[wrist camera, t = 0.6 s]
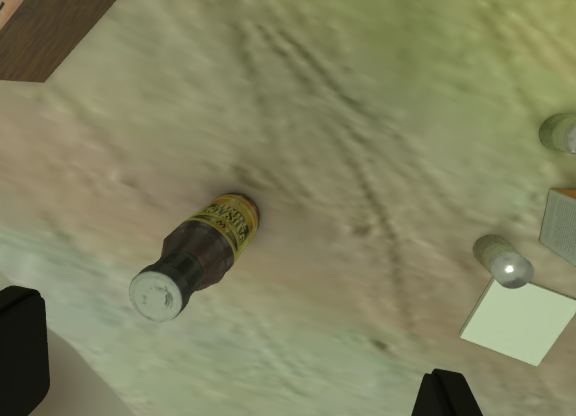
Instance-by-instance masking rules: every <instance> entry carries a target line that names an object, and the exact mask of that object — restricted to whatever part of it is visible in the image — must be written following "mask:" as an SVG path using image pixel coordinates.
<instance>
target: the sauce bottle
mask: <svg viewBox="0 0 576 416" xmlns="http://www.w3.org/2000/svg"><path fill="white" fill-rule="evenodd" d="M258 224H259V213H258V211H257V209H256V207H255V205H254V204H253V202H252V201H250V200H249V198H247V197H244V196H242V195H238V194H232V193H230V194H227V195H223V196H220V197H218V198H216V199H215V200H213V201H212V202H211V203H209V204H208V205H207V206H205V207H204V208H202V209H201V210H199V211H198V212H197V213H195V214H194V215H193V216H191V217H190V218H189V219H187V220H186V221H184V222H183V223H182V224H181V225H180V226H178V227H177V228H176V229H175V230H174V231H173V232H172V233H171V234H170V235H168V236H167V237H166V238H165V239H164V242H163V248H162V253H161V257H160V259H159V260H158V261H157V262H156V263H154V264H152V265H149V266H147V267H146V268H144V269H143V270H142V271H141V272H140V273H139V274H138V275H137V276H136V277H135V278H134V279H133V280H132V282H131V284H130V288H129V296H130V301H131V303H132V305H133V307H134V308H135V309H136V311H137V312H138V313H139V314H141V315H142V316H144V317H145V318H147V319H148V320H151V321H154V322H164V321H169V320H172V319H174V318H175V317H177V316H178V315H179V313H180V312H181V311H182V310H183V309H184V308H185V307H186V305H187V304H188V301H189V298H190V296H191V294H192V293H193V292H195V291H199V290H202V289H204V288H207V287H209V286H210V285H213V284H215V283H218V282H219V281H220V280H221V279H222V278H223V276H224V274H225V273H226V272H227V271H228V270H229V269H230V268H231V267H232V266H233V264H234V263H235V261H236V260H237V259H238V257H239V256H240V254H241V253H242V251H243V250H244V249H245V247H246V246H247V245H248V243H249V242H250V240H251V239H252V238H253V236H254V235H255V233H256V230H257V228H258Z"/></svg>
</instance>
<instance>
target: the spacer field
mask: <svg viewBox="0 0 576 416" xmlns="http://www.w3.org/2000/svg"><path fill="white" fill-rule="evenodd" d="M539 139H540V141H541V143H542V144H543V145H544V146H545V147H547V148H550V149H554V150H559V151H563V152H567V153H572V154H576V115H566V114H558V115H554V116H552V117H550V118H548V119H547V120H546V121H545V122H544V123H543V124H542V126H541V128H540V131H539ZM473 253H474V256H475V257H476V259H477V260H478V261H479V262H480V263H481V264H482V265H483V266H484V267H485V269H486V270H487V271H488V272H489V273H490V274H491V275H492V276H493V277H494V279H495V280H496V281H497V282H498V283H499V284H500V285H501V286H503V287H505V288H508V289H517V288H520V287H523V286H524V285H526V284H527V283H528V282H529V281H530V280H531V278H532V276H533V272H534V270H533V266H532V264H531V263H530V262H529V261H528V260H527V259H526V258H525V257H523V256H522V255H521V254H520V253H519V252H517V251H516V250H515V249H514V248H513V247H511V246H510V245H509V244H508V243H507V242H505V241H504V240H503V239H502V238H500V237H499V236H496V235H486V236H483V237H481V238H480V239H479V240H477V242H476V243H475V245H474V248H473Z"/></svg>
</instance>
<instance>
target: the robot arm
mask: <svg viewBox="0 0 576 416" xmlns="http://www.w3.org/2000/svg"><path fill="white" fill-rule="evenodd" d="M49 387H50V376H49V361H48V343H47V327H46V311H45V301H44V299H43V298H42V297H41V295H40V293H39V291H37V290H35V289H30V288H25V287H20V286H9V287H6V288H5V289H3V290H1V291H0V416H28V415H29V414H30V413H31V412H32V411H33V410H34V409H35V408H36V407H37V406H38V405H39V404H40V402H42V400H43V399H44V398H45V396H46V395H47V392H48V390H49ZM411 416H483V415H482V413H481V411H480V408H479V406H478V404H477V402H476V400H475V398H474V396H473V394H472V392H471V390H470V388H469V386H468V384H467V381H466V379H465V378H464V376H463V375H462V374H461V373H457V372H452V371H447V370H442V369H434V370H433V371H432V374H428V373H426V374H425V375H424V377H423V379H422V383H421V386H420V389H419V392H418V396H417V399H416V402H415V405H414V409H413V412H412V415H411Z"/></svg>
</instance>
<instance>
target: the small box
mask: <svg viewBox="0 0 576 416" xmlns="http://www.w3.org/2000/svg"><path fill="white" fill-rule="evenodd" d="M539 241H540V243H542V244H543V245H545V246H546V247H548V248H549V249H551V250H552V251H554V252H555V253H556V254H558V255H559V256H561V257H562V258H564V259H565V260H567V261H568V262H570V263H571V264H572V265H574V266H575V267H576V189H550V190H549V195H548V201H547V205H546V211H545V215H544V220H543V225H542V230H541V235H540V240H539Z"/></svg>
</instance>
